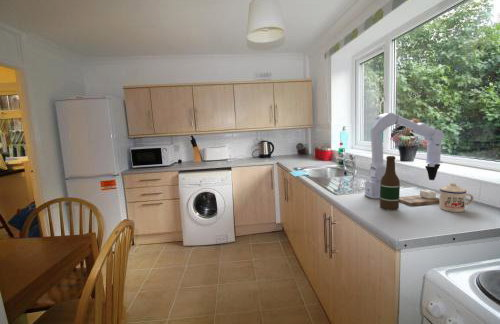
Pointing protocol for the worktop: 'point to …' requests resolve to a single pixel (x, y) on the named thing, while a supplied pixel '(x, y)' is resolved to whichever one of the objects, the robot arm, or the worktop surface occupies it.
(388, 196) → the beer bottle
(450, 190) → the teacup with lid
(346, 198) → the worktop surface
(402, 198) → the console board
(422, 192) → the fader tab
